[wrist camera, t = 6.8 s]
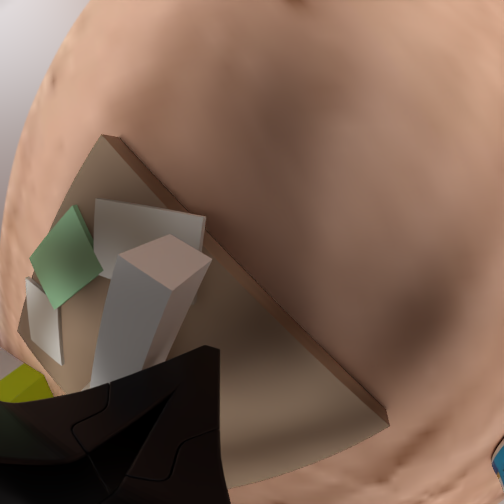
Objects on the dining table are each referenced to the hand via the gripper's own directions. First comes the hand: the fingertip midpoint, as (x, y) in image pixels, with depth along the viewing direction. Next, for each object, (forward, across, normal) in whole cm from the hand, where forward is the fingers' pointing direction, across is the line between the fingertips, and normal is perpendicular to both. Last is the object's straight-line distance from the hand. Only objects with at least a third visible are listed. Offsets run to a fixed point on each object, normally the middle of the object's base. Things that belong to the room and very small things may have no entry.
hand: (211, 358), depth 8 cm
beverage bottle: (+4, -25, +7) cm, 27 cm away
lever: (+2, +3, +2) cm, 4 cm away
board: (+4, +4, +6) cm, 8 cm away
